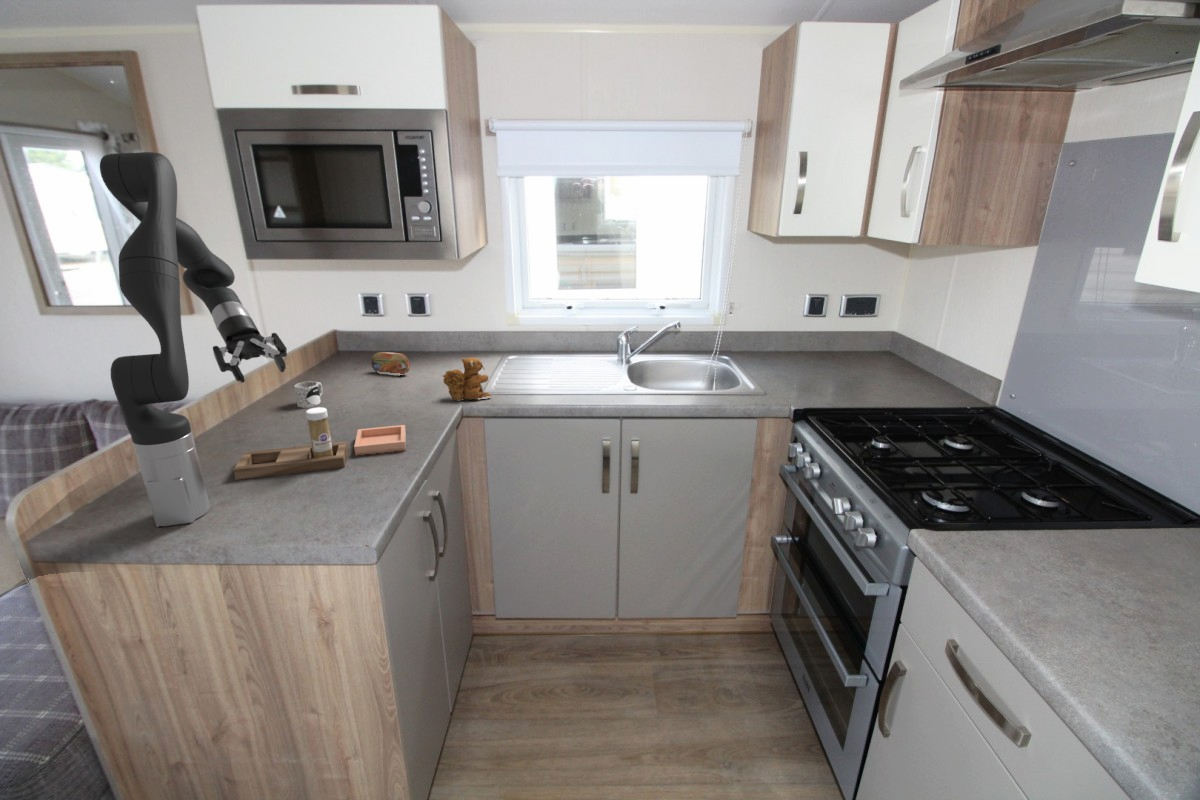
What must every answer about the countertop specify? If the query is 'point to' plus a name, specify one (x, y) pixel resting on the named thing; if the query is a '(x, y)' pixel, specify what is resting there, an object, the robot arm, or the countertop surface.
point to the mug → (308, 394)
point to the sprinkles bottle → (319, 432)
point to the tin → (390, 362)
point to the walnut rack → (288, 461)
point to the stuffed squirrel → (466, 380)
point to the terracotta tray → (380, 440)
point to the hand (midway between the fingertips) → (263, 375)
